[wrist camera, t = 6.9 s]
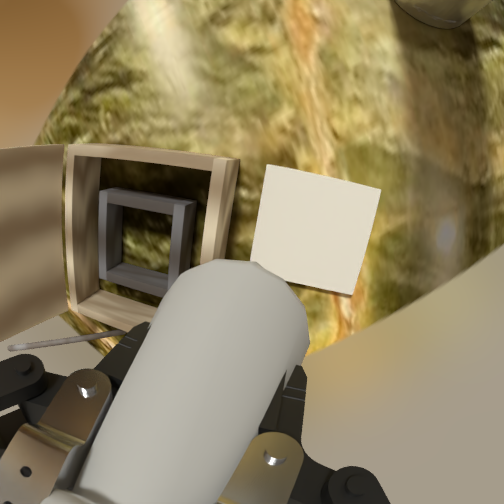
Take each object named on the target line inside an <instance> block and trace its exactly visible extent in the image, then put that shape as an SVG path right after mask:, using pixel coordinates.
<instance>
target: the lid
mask: <svg viewBox="0 0 504 504" xmlns="http://www.w3.org/2000/svg"><path fill="white" fill-rule="evenodd" d="M63 154H64V144H54V145H37V146H23V147H12V148H3V149H0V342H1V341H4V340H6V339H8V338H10V337H12V336H14V335H16V334H18V333H20V332H23V331H25V330H27V329H29V328H31V327H33V326H35V325H38V324H39V323H42V322H44V321H46V320H48V319H50V318H52V317H55V316H57V315H59V314H61V313H64V312H66V311H68V303H67V295H66V286H65V276H64V265H63V250H62V224H61V195H62V169H63Z"/></svg>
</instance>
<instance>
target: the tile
mask: <svg viewBox="0 0 504 504" xmlns="http://www.w3.org/2000/svg"><path fill="white" fill-rule="evenodd" d="M380 193H381V190H380V189H377V188H373V187H370V186H366V185H362V184H358V183H354V182H350V181H346V180H342V179H337V178H333V177H329V176H324V175H320V174H315V173H311V172H306V171H301V170H296V169H291V168H286V167H281V166H276V165H271V164H267V167H266V173H265V179H264V184H263V190H262V196H261V201H260V207H259V213H258V218H257V224H256V230H255V235H254V241H253V247H252V252H251V258H250V261H251V262H257V263H259V264H260V265H261V266H262V267H263V268H264V269H266V270H268V271H270V272H272V273H273V274H275V275H277V276H279V277H281V278H283V279H284V280H285V281H289V282H294V283H298V284H303V285H307V286H312V287H317V288H321V289H326V290H331V291H335V292H340V293H345V294H349V295H352V294H353V291H354V288H355V285H356V282H357V278H358V275H359V272H360V269H361V265H362V262H363V258H364V255H365V251H366V248H367V244H368V241H369V237H370V233H371V229H372V226H373V222H374V218H375V214H376V210H377V206H378V201H379V197H380Z"/></svg>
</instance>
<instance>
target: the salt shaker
mask: <svg viewBox="0 0 504 504" xmlns="http://www.w3.org/2000/svg"><path fill="white" fill-rule="evenodd" d="M151 324H152V325H151ZM150 326H151V327H150ZM149 327H150V329H149V331H148V334H147V336H146V338H145V340H144V342H143V344H142V346H141V348H140V349H139V351H138V353H137V355H136V357H135V359H134V361H133V363H132V365H131V367H130V369H129V371H128V373H127V375H126V376H125V378H124V380H123V382H122V384H121V386H120V388H119V390H118V392H117V394H116V396H115V398H114V401H113V403H112V405H111V407H110V409H109V411H108V413H107V415H106V417H105V419H104V421H103V423H102V425H101V427H100V430H99V432H98V434H97V436H96V438H95V440H94V442H93V445H92V447H91V449H90V451H89V453H88V456H87V458H86V460H85V462H84V465H83V467H82V469H81V471H80V474H79V476H78V478H77V481H76V483H75V485H74V488H73V490H72V491H71V490H67V489H66V490H60V489H55V490H54V491H53V493H52V494H51V495H50V496H49V497H47V498H45V499H44V500H43V501H42V502H41V504H214V503H215V502H216V501H217V500H218V498H219V497H220V495H221V493H222V492H223V490H224V488H225V487H226V485H227V483H228V482H229V480H230V478H231V476H232V475H233V473H234V471H235V469H236V468H237V466H238V464H239V462H240V461H241V459H242V457H243V455H244V453H245V452H246V450H247V448H248V446H249V444H250V443H251V441H252V440H253V439H254V438H255V437H257V436H258V427H259V425H260V423H261V421H262V419H263V417H264V415H265V413H266V411H267V409H268V407H269V405H270V403H271V400H272V398H273V396H274V394H275V392H276V390H277V388H278V386H279V383H280V381H281V379H282V377H283V376H284V374H285V372H286V377H285V383H284V388H286V384H287V382H288V380H289V378H290V376H291V374H292V372H293V370H294V368H295V366H296V365H299V366H301V364H302V361H303V359H304V357H305V354H306V352H307V349H308V347H309V344H310V340H309V332H308V324H307V316H306V311H305V306H304V305H303V304H302V302H301V301H300V300H299V298H298V297H297V296H296V295H295V293H294V292H293V291H292V289H291V288H290V287H289V285H288V284H287V283H286V282H285V280H284V279H283V278H281V277H279V276H277V275H275V274H273V273H272V272H270V271H268V270H266V269H264V268H263V267H262V266H261V265H260V264H259V263H257V262H251V261H239V260H226V259H214V260H212V261H209V262H207V263H204V264H202V265H199V266H197V267H194V268H192V269H189V270H187V271H185V272H184V273H182V274H181V275H180V276H179V277H178V278H177V280H176V281H175V282H174V284H173V285H172V286H171V288H170V289H169V290H168V292H167V293H166V294H165V296H164V297H163V299H162V301H161V303H160V305H159V307H158V309H157V311H156V313H155V315H154V317H153V318H152V320H151V322H150V325H149ZM149 327H148V328H149ZM286 370H287V371H286ZM284 388H283V390H284Z"/></svg>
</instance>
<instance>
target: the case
mask: <svg viewBox="0 0 504 504" xmlns="http://www.w3.org/2000/svg"><path fill="white" fill-rule="evenodd" d="M102 157H103V158H113V159H123V160H133V161H141V162H150V163H158V164H166V165H173V166H180V167H187V168H194V169H201V170H207V171H212V174H211V181H210V188H209V196H208V203H207V210H206V218H205V226H204V234H203V242H202V251H201V260H200V265H202V264H204V263H207V262H209V261H212V260H214V259H225V253H226V246H227V239H228V233H229V226H230V219H231V213H232V206H233V200H234V194H235V187H236V181H237V175H238V169H239V163H240V159H236V158H230V157H223V156H216V155H209V154H202V153H195V152H187V151H179V150H170V149H161V148H151V147H140V146H128V145H115V144H99V143H91V144H68V155H67V169H66V193H65V231H66V254H67V269H68V281H69V290H70V299H71V307H72V310H73V311H76V312H78V313H80V314H83V315H85V316H87V317H90V318H92V319H95V320H97V321H100V322H102V323H105V324H107V325H110V326H113V327H115V328H118V329H119V330H113V331H107V332H101V333H95V334H89V335H82V336H76V337H70V338H63V339H56V340H49V341H41V342H35V343H26V344H18V345H11V346H8V350H9V351H18V350H26V349H34V348H41V347H48V346H55V345H62V344H69V343H75V342H81V341H88V340H94V339H100V338H106V337H111V336H117V335H123V334H126V332H129V331H130V330H131V329H132V328H133V327H134V326H136V325H139V324H141V323H143V322H145V321H147V322H151V320H152V318H153V317H154V315H155V313H156V311H157V309H158V308H156V307H153V306H150V305H146V304H143V303H140V302H137V301H134V300H131V299H128V298H125V297H122V296H119V295H116V294H113V293H110V292H107V291H104V290H101V289H99V278H101V279H104V280H107V281H110V282H113V283H116V284H120V285H123V286H126V287H129V288H132V289H136V290H139V291H142V292H145V293H149V294H152V295H155V296H159V297H162V298H163V297H164V296H165V294H166V293H167V292H168V290H169V289H170V288H171V286H172V285H173V284H174V282H175V281H176V280H177V278H178V277H179V276H180V275H181V274H182V273H184V272H185V271H187V270H189V269H190V261H191V251H192V242H193V232H194V224H195V215H196V207H197V200H192V199H186V198H181V197H175V196H169V195H163V194H158V193H152V192H146V191H140V190H133V189H127V188H121V187H114V188H110V189H106V190H101V191H100V193H99V184H100V170H101V158H102ZM98 204H99V221H98ZM123 206H128V207H133V208H138V209H144V210H149V211H154V212H159V213H164V214H169V215H173V222H172V233H171V245H170V259H169V274H168V275H167V274H164V273H160V272H156V271H152V270H149V269H145V268H141V267H138V266H134V265H131V264H127V263H123V262H121V254H122V218H123ZM98 254H99V270H98Z"/></svg>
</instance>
